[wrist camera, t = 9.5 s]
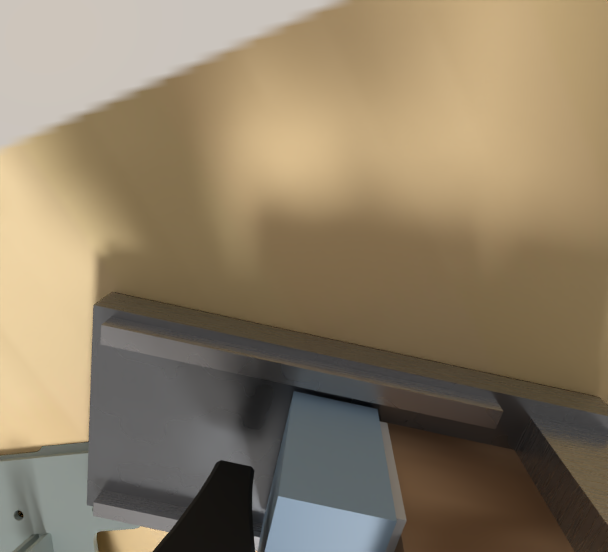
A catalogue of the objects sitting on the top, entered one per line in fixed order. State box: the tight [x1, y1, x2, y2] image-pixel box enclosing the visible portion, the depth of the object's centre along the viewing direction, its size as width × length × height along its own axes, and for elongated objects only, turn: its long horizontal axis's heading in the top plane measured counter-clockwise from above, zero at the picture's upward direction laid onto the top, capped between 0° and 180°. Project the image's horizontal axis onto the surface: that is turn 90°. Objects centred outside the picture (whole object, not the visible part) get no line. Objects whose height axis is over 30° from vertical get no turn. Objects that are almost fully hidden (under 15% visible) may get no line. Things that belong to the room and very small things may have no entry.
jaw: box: [258, 391, 407, 552], centre depth 10 cm, size 3×5×4 cm, turn 169°
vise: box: [87, 292, 608, 552], centre depth 11 cm, size 15×8×5 cm, turn 78°
